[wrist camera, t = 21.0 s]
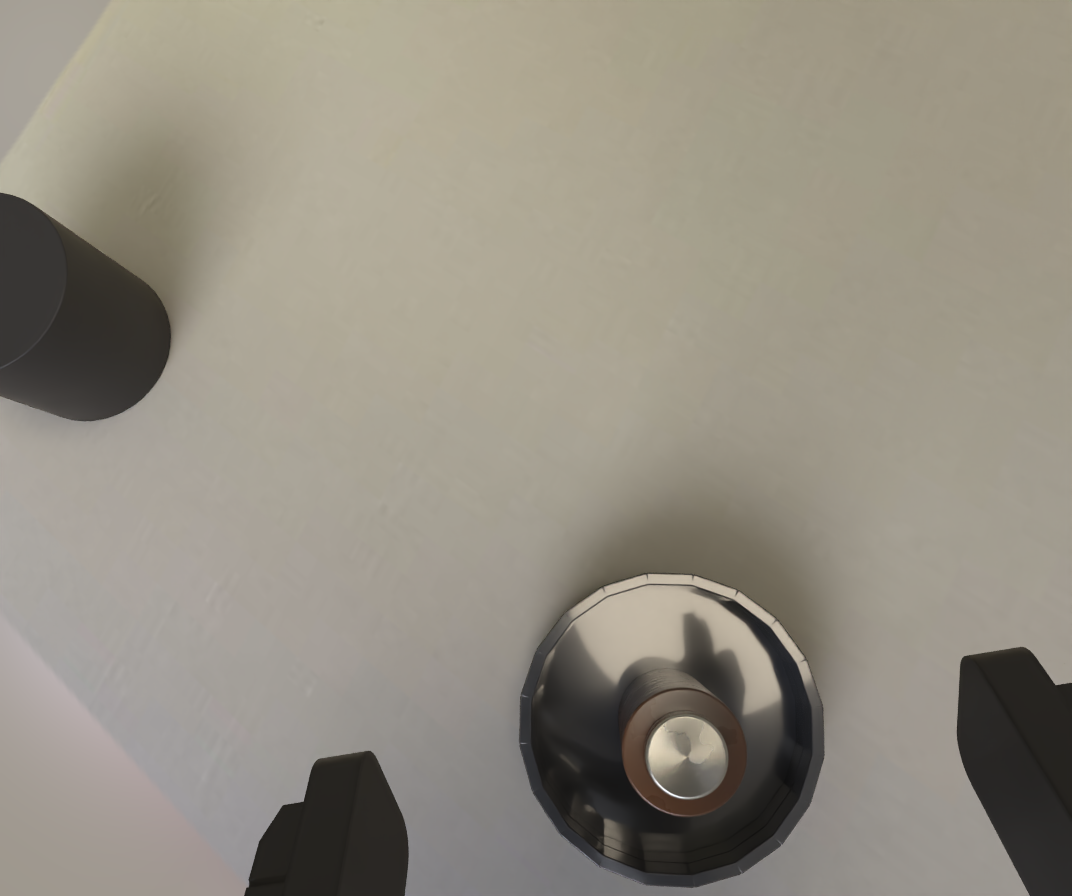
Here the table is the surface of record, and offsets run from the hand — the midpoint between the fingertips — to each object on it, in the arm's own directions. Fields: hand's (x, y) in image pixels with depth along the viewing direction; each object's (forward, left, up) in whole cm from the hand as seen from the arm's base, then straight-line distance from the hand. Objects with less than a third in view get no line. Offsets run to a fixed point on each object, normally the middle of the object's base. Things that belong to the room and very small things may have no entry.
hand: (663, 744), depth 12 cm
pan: (0, -2, -20) cm, 21 cm away
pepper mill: (0, -2, -20) cm, 20 cm away
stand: (-11, +22, -20) cm, 32 cm away
